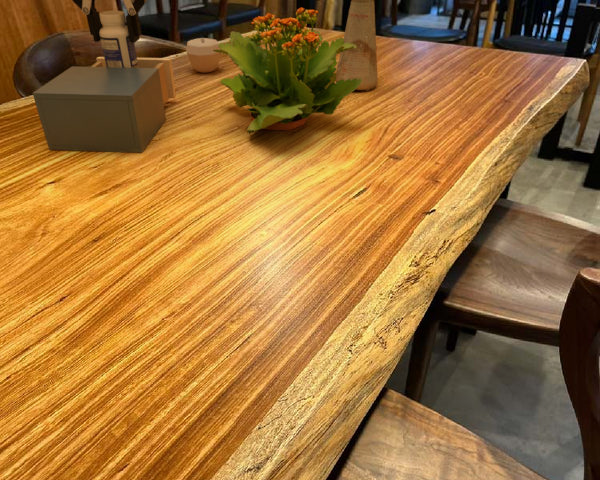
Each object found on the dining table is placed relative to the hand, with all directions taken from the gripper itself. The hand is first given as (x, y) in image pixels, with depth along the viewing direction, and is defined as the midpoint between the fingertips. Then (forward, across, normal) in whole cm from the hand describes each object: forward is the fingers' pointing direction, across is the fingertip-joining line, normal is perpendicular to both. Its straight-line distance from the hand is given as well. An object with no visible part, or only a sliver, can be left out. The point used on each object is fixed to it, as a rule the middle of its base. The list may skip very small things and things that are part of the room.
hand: (117, 39), depth 89 cm
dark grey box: (+12, 0, +10) cm, 16 cm away
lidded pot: (+12, -8, -28) cm, 32 cm away
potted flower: (+12, -27, +2) cm, 30 cm away
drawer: (+11, 0, -2) cm, 12 cm away
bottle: (+12, -41, -20) cm, 47 cm away
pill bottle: (+5, 0, 0) cm, 5 cm away
